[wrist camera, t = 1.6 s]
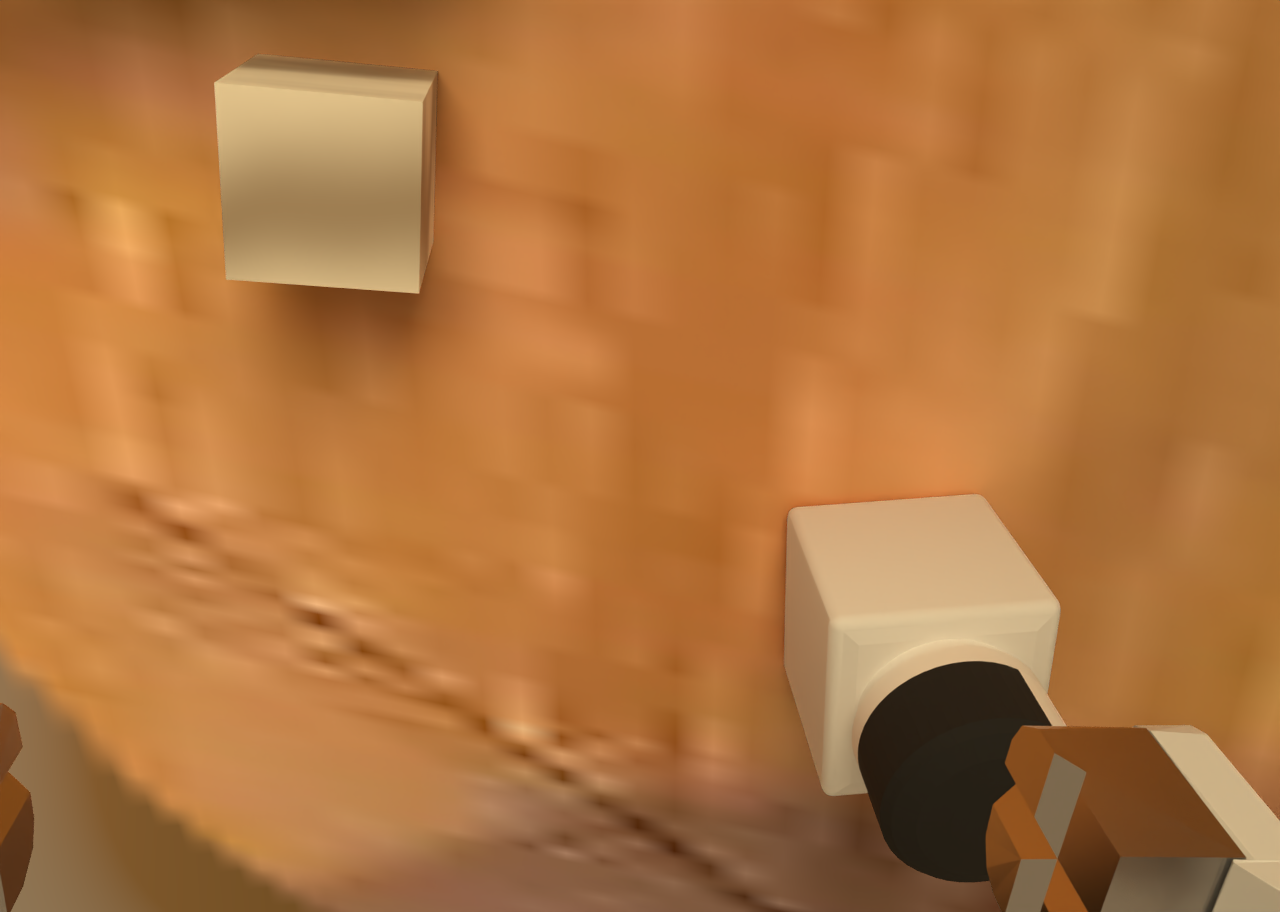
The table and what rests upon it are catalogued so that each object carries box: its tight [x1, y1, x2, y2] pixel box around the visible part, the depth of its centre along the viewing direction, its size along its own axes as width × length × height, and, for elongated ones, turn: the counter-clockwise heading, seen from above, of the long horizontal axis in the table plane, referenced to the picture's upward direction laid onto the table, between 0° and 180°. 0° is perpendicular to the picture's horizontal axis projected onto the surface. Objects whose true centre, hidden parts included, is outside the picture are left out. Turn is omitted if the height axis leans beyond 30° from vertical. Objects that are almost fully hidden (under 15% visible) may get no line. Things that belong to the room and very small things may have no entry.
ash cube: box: [214, 54, 438, 293], centre depth 31 cm, size 5×5×5 cm
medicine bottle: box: [784, 494, 1066, 882], centre depth 37 cm, size 7×7×12 cm
